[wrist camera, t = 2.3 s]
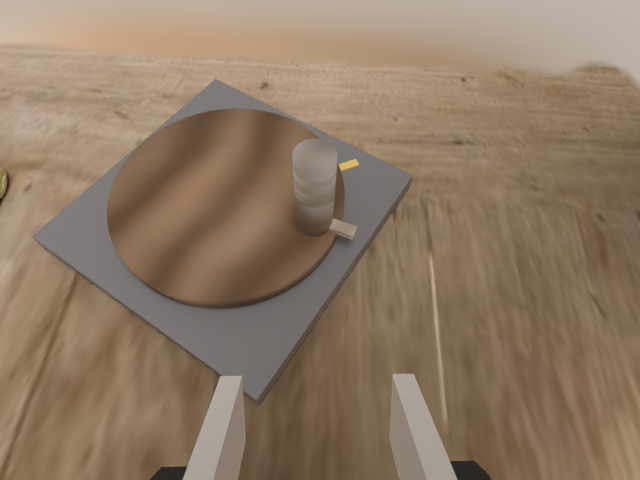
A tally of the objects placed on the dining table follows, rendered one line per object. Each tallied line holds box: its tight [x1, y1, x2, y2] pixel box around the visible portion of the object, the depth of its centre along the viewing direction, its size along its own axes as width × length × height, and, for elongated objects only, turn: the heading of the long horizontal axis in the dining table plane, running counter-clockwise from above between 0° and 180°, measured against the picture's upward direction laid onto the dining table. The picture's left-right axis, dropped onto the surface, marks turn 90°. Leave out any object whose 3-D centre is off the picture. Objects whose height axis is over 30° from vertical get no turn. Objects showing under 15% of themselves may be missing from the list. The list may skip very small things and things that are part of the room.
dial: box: [107, 108, 357, 308], centre depth 33 cm, size 22×20×10 cm
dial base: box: [32, 79, 412, 405], centre depth 39 cm, size 24×24×2 cm
